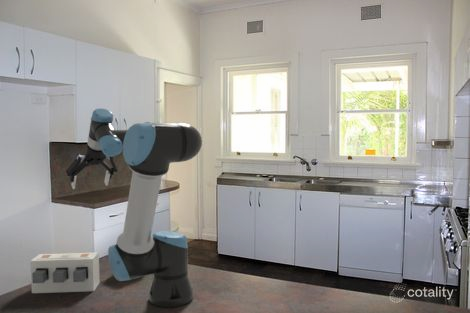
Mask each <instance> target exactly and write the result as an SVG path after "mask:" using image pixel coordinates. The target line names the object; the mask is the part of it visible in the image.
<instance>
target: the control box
mask: <svg viewBox="0 0 470 313" xmlns="http://www.w3.org/2000/svg"><path fill="white" fill-rule="evenodd" d="M29 264H30V282H31V294H46V293H47V294H50V293H51V294H52V293H54V294H55V293H78V292H79V293H81V292H82V293H83V292H94V291H95V290H96V289H97V287H98V286H99V284H100V283H101V282H100V253H99V252H98V251H96V252H95V251H94V252H67V253H66V252H64V253H38V255H36V256H35V257H33V258H32V259H31V260H30V263H29ZM66 268H67V279H66V280H65V281H64V282H59V283H53V272H54V271H55V270H56V269H66ZM76 268H87V278H86V280H85V281H84V282H73V272H74V271H75V269H76ZM37 269H47V274H48V279H47V280H46V281H45V282H44V283H33V279H32V273H33V272H35V271H36V270H37Z"/></svg>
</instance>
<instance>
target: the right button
mask: <svg viewBox="0 0 470 313" xmlns="http://www.w3.org/2000/svg"><path fill="white" fill-rule="evenodd" d="M86 278H87V268H76V269H75V271H74V272H73V282H84V281H85V280H86Z"/></svg>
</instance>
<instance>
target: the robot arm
mask: <svg viewBox="0 0 470 313" xmlns="http://www.w3.org/2000/svg"><path fill="white" fill-rule="evenodd" d="M113 122H114V114H113V112H112V111H111V110H109V109H107V108H96V109H94V110H93V111H92V115H91V118H90V123H89V125H90V126H89V132H88V136H87V144H86V148H85V149H86V150H85V154H84V155H81V154H80V153H77V154H76V157H75V159H74V160H73V161H72V162H71V163H70V165H69V166H68V168H67V169H66V170H65V173H66V176H68V177H69V181H70V183H71V188H72V190H75V189H76V183H77V175H78V174H79V173H81V172H82V171H83V170H84V169H86V168H88V167H89V166H95V165H97V166H98V165H101V166H103V167H104V168H105V169H106V172H105V175H104V176H105V177H104V181H103V182H104V184H105V185H104V186H106V187H108V186H109V181H110V180H111V179H112V177H113V175H114V173H117V172H118V168H117V166H116V164H115V161H114V157H115V156H119V154H121V153H122V154H123V159H124V161H125V162H126V164H127V166H128V168H129V169H130V170H131V171H132V172H131V174H132V175H131V181H130V187H129V194H128V198H127V199H128V200H127V204H126V206H127V207H126V212H125V219H124V226H123V230H122V233H120V234H119V235H118V237H116V238H117V240H116V244H112V245H110V246H109V247H108V252H107V254H108V255H107V256H108V262H109V266H110V270H111V272H112V275H113V276H114V278H115V279H116V280H117V281H119V282H123V281H124V282H125V281H131V280H135V279H138V278H142V277H146V276H147V277H148V276H151V275H153V280H152V284H151V286H150V287H151V288H150V290H149V298H148V299H149V303H151V305H153V306H155V307H160V308H175V307H180V306H184V305H186V304H189V303H190V302H191V301H192V300H193V298H194V289H193V287H192V284H191V281H190V277H189V268H188V267H189V266H188V265H189V262H188V260H189V258H188V255H189V254H188V252H189V251H188V248H189V247H188V246H189V245H188V238H187V236H186V235H185V234H183V233H180V232H177V231H170V230H169V231H168V230H160V231H156V232H154V233H153V234H152V230H153V227H154V226H153V225H154V220H155V216H156V210H157V205H158V199H159V193H160V189H161V185H162V178H163V176H165V175H167V173H168V172H169V169H170V164H172V163H182V162H183V163H184V162H187V161H189V160H192V159H193V158H195V157H196V156H197V155H198V154H199V152H200V151H201V149H202V143H203V140H202V136H201V133H200V132H199V130H197V128H196V127H194V126H192V125H191V124H187V123H184V122H150V121H147V122H146V121H145V122H140V123H139V122H138V123H137V122H136V123H133V124H132V125H131V126H130V127H129V128H128V129H116V128H115V127H114V125H113ZM106 159H108V160H109V163H110V164H111V166H110V165H109V164H108V163H107V162H106V161H105V160H106Z"/></svg>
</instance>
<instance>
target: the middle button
mask: <svg viewBox="0 0 470 313" xmlns="http://www.w3.org/2000/svg"><path fill="white" fill-rule="evenodd" d="M66 279H67V268H66V269H56V270H55V271H54V272H53V283H59V282H64V281H65V280H66Z"/></svg>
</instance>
